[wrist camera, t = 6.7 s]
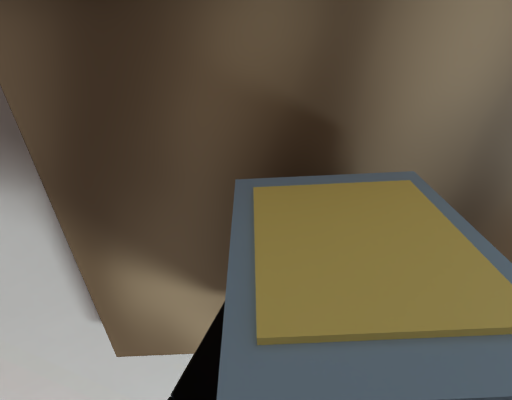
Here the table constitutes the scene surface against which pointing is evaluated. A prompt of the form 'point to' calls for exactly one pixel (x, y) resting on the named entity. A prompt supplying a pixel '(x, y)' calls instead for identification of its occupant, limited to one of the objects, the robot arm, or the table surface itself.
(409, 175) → the box
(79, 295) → the table surface
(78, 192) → the shelf board
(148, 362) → the table surface
